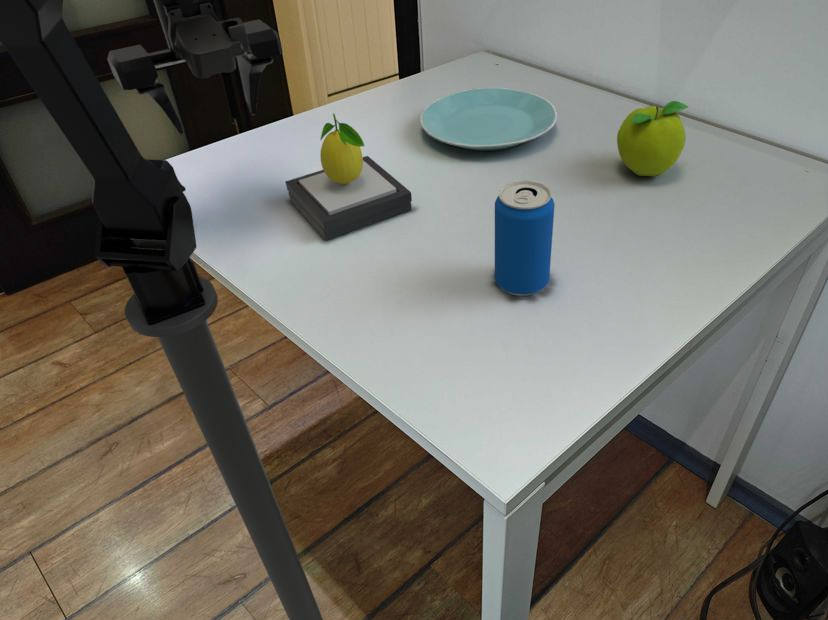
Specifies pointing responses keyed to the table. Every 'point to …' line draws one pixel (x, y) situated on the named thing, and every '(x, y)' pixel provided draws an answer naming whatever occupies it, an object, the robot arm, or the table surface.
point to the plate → (488, 118)
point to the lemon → (341, 153)
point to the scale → (353, 216)
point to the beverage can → (523, 237)
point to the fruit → (652, 139)
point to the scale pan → (346, 190)
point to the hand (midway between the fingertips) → (217, 123)
